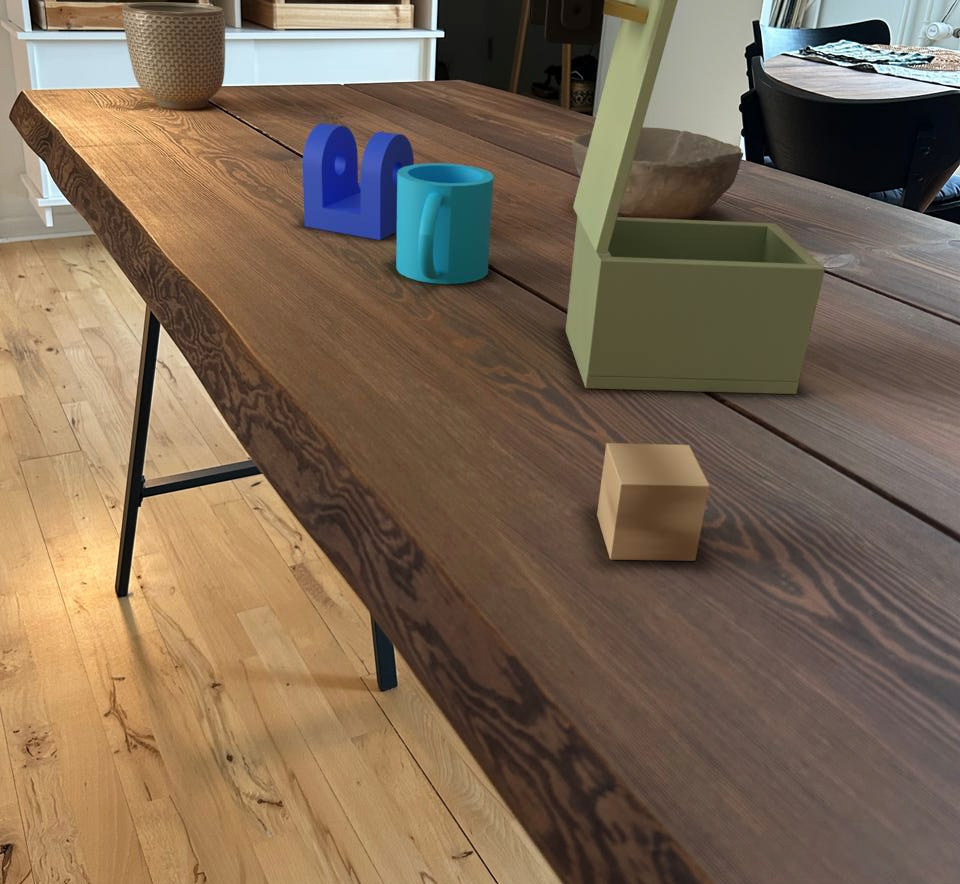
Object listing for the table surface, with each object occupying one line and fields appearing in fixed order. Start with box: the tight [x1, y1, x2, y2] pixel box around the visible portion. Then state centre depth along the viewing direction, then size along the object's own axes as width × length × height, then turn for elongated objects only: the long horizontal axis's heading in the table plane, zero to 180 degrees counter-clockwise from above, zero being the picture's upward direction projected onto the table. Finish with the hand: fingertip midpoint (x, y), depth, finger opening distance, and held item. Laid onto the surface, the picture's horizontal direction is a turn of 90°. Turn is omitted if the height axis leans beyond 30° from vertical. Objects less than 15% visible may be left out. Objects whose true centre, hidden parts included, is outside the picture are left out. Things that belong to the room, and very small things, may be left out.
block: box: [596, 442, 710, 562], centre depth 53 cm, size 4×4×4 cm
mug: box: [395, 162, 494, 285], centre depth 87 cm, size 12×8×8 cm
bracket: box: [302, 122, 415, 241], centre depth 104 cm, size 18×8×9 cm, turn 157°
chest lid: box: [572, 0, 679, 254], centre depth 66 cm, size 16×11×5 cm
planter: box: [121, 1, 226, 111], centre depth 147 cm, size 14×14×13 cm
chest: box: [565, 215, 826, 395], centre depth 73 cm, size 15×11×9 cm
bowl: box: [571, 126, 744, 220], centre depth 109 cm, size 18×18×8 cm
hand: (561, 33), depth 63 cm, fingers open, 9 cm apart
